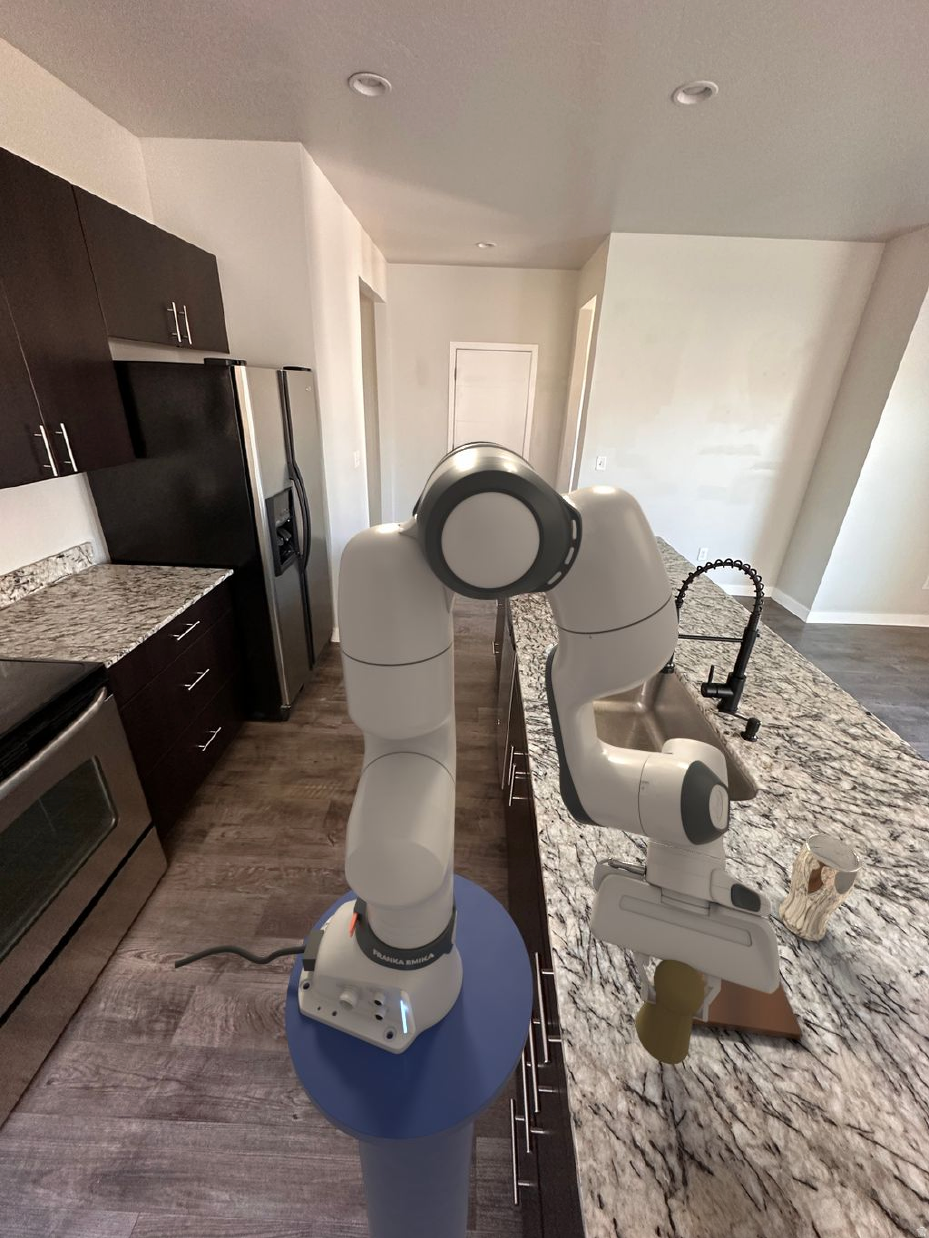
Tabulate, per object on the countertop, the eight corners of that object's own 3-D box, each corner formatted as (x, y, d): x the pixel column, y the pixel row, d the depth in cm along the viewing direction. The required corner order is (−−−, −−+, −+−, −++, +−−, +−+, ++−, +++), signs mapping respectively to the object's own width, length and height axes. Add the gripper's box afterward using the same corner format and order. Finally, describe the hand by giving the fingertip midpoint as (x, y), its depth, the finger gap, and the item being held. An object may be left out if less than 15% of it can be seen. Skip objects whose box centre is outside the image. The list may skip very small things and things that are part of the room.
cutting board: (684, 1023, 62) (686, 1017, 62) (660, 931, 73) (662, 925, 73) (800, 1040, 61) (803, 1034, 60) (758, 943, 72) (761, 938, 71)
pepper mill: (637, 995, 61) (654, 939, 57) (689, 1017, 59) (710, 961, 55) (633, 1049, 56) (651, 991, 52) (689, 1075, 54) (713, 1018, 50)
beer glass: (764, 907, 77) (792, 837, 71) (797, 895, 79) (827, 827, 73) (804, 950, 71) (839, 878, 65) (839, 936, 73) (876, 865, 67)
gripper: (598, 854, 59) (580, 986, 55) (786, 905, 54) (784, 1056, 49) (595, 851, 65) (578, 970, 60) (765, 897, 60) (761, 1032, 55)
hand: (673, 1009), depth 55 cm, fingers closed on pepper mill, 4 cm apart
